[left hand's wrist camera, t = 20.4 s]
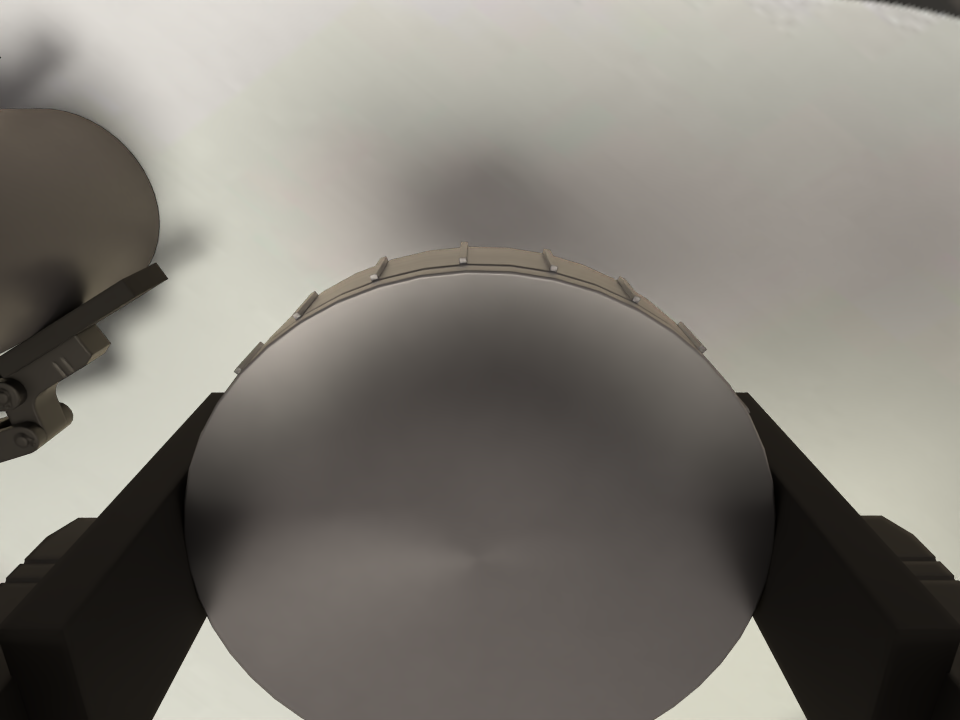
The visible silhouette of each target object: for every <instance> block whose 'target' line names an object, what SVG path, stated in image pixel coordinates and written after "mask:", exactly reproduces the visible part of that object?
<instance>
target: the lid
mask: <svg viewBox="0 0 960 720" xmlns="http://www.w3.org/2000/svg"><path fill="white" fill-rule="evenodd" d="M706 350H707V349H706V348H705V347H704V346H703V345H702V344H701V343H700V341H699V340H698V339H697V338H696V337H695V336H694V335H693V334H692V333H691V332H690V330H689V329H688V328H687V327H686V326H685V325H684V324H683V323H682V322H680V323H679V324H678V325H677V324H676V323H675V322H674V321H673V320H671V319H670V318H669V317H668V316H667V315H666V314H664V313H663V312H662V311H661V310H660V309H658V308H657V307H656V306H655V305H654V304H652V303H651V302H650V301H649V300H648V299H646V298H645V297H643V296H641V295H640V294H638V293H637V292H635V291H634V290H633V288H632V287H631V286H630V285H629V283H628V282H627V281H626V280H625V279H624V278H622V277H619V278H618V280H615V279H613V278H611V277H609V276H607V275H604V274H602V273H600V272H598V271H595V270H593V269H591V268H589V267H587V266H584V265H582V264H579V263H575V262H572V261H568V260H565V259H562V258H558V257H555V256H553V255H552V253H551V251H550V250H549V249H544V250H543V253H538V252H531V251H525V250H519V249H513V248H501V247H468V242H461V247H460V248H450V249H441V250H431V251H426V252H422V253H417V254H413V255H409V256H405V257H401V258H396V259H392V260H389V261H388V259H387V257H383V258H380V260H379V261H378V263H377V265H376V266H374V267H371V268H369V269H366V270H364V271H361V272H358V273H356V274H354V275H352V276H350V277H349V278H347V279H345V280H343V281H341V282H340V283H338V284H336V285H334V286H332V287H330V288H329V289H327V290H325V291H323V292H322V293H321V294H319V295H318V294H317V293H316V292H315V291H314V292H313V293H312V294H310V295H309V296H308V298H307V299H306V300H305V301H304V302H303V303H302V304H301V306H300V307H299V308H298V309H297V310H296V311H295V313H294V314H293V315H292V316H291V317H290V318H289V319H288V320H287V321H286V322H285V323H284V324H283V325H282V326H281V327H280V328H279V329H278V330H277V331H276V332H275V333H274V334H273V335H272V336H271V337H270V338H269V340H268V341H267V342H266V343H265V344H263V343H262V342H260V343H259V344H258V345H257V346H256V347H255V348H254V349H253V350H252V351H251V353H250V354H249V355H248V356H247V357H246V358H245V359H244V360H243V361H242V362H241V364H240V365H239V366H238V367H237V368H236V369H235V371H234V372H235V373H236V374H238V375H237V377H236V378H235V379H234V381H233V382H232V383H231V385H230V386H229V387H228V389H227V390H226V391H225V393H224V394H223V396H222V397H221V398H220V400H219V401H218V402H217V404H216V406H215V408H214V410H213V412H212V413H211V415H210V417H209V419H208V421H207V423H206V425H205V427H204V429H203V431H202V432H201V434H200V437H199V440H198V443H197V446H196V449H195V452H194V455H193V458H192V461H191V464H190V467H189V472H188V478H187V485H186V491H185V497H184V540H185V545H186V551H187V556H188V562H189V567H190V572H191V577H192V580H193V583H194V586H195V589H196V592H197V595H198V599H199V601H200V603H201V605H202V607H203V609H204V611H205V613H206V615H207V617H208V619H209V621H210V623H211V625H212V627H213V629H214V630H215V632H216V633H217V635H218V636H219V638H220V639H221V641H222V642H223V644H224V645H225V647H226V648H227V650H228V651H229V653H230V654H231V655H232V656H233V658H234V659H235V660H236V661H237V662H238V663H239V664H240V666H241V667H242V668H243V669H244V670H245V671H246V672H247V674H248V675H249V676H250V677H251V678H252V679H253V680H254V681H255V682H256V683H258V684H259V685H260V686H261V687H262V688H263V689H264V690H265V691H266V692H268V693H269V694H270V695H271V696H272V697H273V698H274V699H275V700H277V701H278V702H280V703H281V704H282V705H284V706H285V707H287V708H288V709H290V710H291V711H292V712H294V713H295V714H297V715H298V716H299V717H301V718H302V719H304V720H654V719H656V718H657V717H659V716H661V715H662V714H664V713H665V712H667V711H668V710H670V709H671V708H673V707H674V706H676V705H677V704H678V703H679V702H681V701H682V700H683V699H684V698H685V697H687V696H688V695H689V694H690V693H692V692H693V691H694V690H695V689H696V688H698V687H699V686H700V685H701V684H702V683H703V682H704V681H705V680H706V679H707V678H708V677H709V675H710V674H711V673H712V672H713V671H714V670H715V669H716V668H717V667H718V666H719V665H720V664H721V663H722V662H723V660H724V659H725V658H726V656H727V655H728V654H729V652H730V651H731V650H732V648H733V647H734V645H735V644H736V643H737V641H738V640H739V639H740V637H741V636H742V634H743V632H744V630H745V628H746V627H747V625H748V623H749V621H750V619H751V618H752V616H753V614H754V612H755V610H756V608H757V605H758V603H759V600H760V597H761V595H762V592H763V590H764V587H765V584H766V582H767V578H768V573H769V568H770V563H771V558H772V553H773V547H774V541H775V526H776V508H775V497H774V487H773V480H772V476H771V472H770V468H769V464H768V461H767V457H766V453H765V449H764V447H763V444H762V442H761V440H760V438H759V435H758V433H757V431H756V428H755V426H754V424H753V422H752V419H751V417H750V415H749V413H750V411H749V409H748V407H747V406H746V405H745V404H744V403H743V402H742V400H741V399H740V398H739V397H738V396H737V395H736V393H735V392H734V390H733V389H732V387H731V386H730V384H729V383H728V382H727V381H726V380H725V379H724V378H723V376H722V375H721V374H720V373H719V372H718V371H717V370H716V368H715V367H714V366H713V365H712V364H711V363H710V362H709V361H708V359H707V358H706V357H705V356H704V355H703V354H702V353H703V352H705V351H706Z"/></svg>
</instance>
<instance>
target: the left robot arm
mask: <svg viewBox="0 0 960 720" xmlns="http://www.w3.org/2000/svg"><path fill="white" fill-rule="evenodd" d="M223 394H224V393H211V394H210V395H209V396H208V397H207V398H206V399H205V401H204V402H203V403H202V404H201V405H200V406H199V407H198V408H197V409H196V410H195V411H194V413H193V414H192V415H191V416H190V417H189V418H188V419H187V420H186V421H185V422H184V424H183V425H182V426H181V427H180V428H179V429H178V430H177V431H176V432H175V433H174V434H173V436H172V437H171V438H170V439H169V440H168V441H167V442H166V443H165V444H164V445H163V446H162V448H161V449H160V450H159V451H158V452H157V453H156V454H155V455H154V456H153V457H152V459H151V460H150V461H149V462H148V463H147V464H146V465H145V466H144V467H143V468H142V469H141V471H140V472H139V473H138V474H137V475H136V476H135V477H134V478H133V479H132V480H131V481H130V483H129V484H128V485H127V486H126V487H125V488H124V489H123V490H122V491H121V492H120V494H119V495H118V496H117V497H116V498H115V499H114V500H113V501H112V502H111V503H110V504H109V506H108V507H107V508H106V509H105V510H104V511H103V512H102V513H101V514H100V515H99V516H98V518H77V519H76V520H74V521H72V522H71V523H69V524H67V525H66V526H64V527H62V528H61V529H59V530H57V531H56V532H54V533H52V534H51V535H49V536H48V537H46V538H45V539H44V540H43V541H42V542H41V543H40V544H39V545H38V546H37V547H36V548H35V549H34V550H33V551H32V552H31V553H30V554H29V555H28V556H27V557H26V558H25V562H24V564H19V565H18V567H17V568H16V569H15V570H14V571H13V572H12V573H11V574H10V575H9V576H8V577H7V578H6V582H5V583H1V584H0V720H152V719H153V717H154V715H155V714H156V712H157V710H158V708H159V706H160V704H161V702H162V700H163V698H164V697H165V695H166V693H167V691H168V689H169V687H170V685H171V683H172V681H173V679H174V678H175V676H176V674H177V672H178V670H179V668H180V666H181V664H182V662H183V661H184V659H185V657H186V655H187V653H188V651H189V649H190V647H191V645H192V643H193V642H194V640H195V638H196V636H197V634H198V632H199V630H200V628H201V626H202V625H203V623H204V621H205V619H206V617H207V615H206V613H205V611H204V609H203V607H202V605H201V603H200V601H199V599H198V595H197V592H196V589H195V586H194V583H193V580H192V577H191V572H190V567H189V562H188V556H187V551H186V545H185V540H184V497H185V491H186V485H187V478H188V472H189V467H190V464H191V461H192V458H193V455H194V452H195V449H196V446H197V443H198V440H199V437H200V434H201V432H202V431H203V429H204V427H205V425H206V423H207V421H208V419H209V417H210V415H211V413H212V412H213V410H214V408H215V406H216V404H217V402H218V401H219V400H220V398H221V397H222V396H223ZM736 395H737V396H738V397H739V398H740V399H741V400H742V402H743V403H744V404H745V405H746V406H747V407H748V409H749V411H750V413H749V415H750V417H751V419H752V422H753V424H754V426H755V428H756V431H757V433H758V435H759V438H760V440H761V442H762V444H763V447H764V449H765V453H766V457H767V461H768V464H769V468H770V472H771V476H772V480H773V487H774V497H775V508H776V526H775V541H774V547H773V553H772V558H771V563H770V568H769V573H768V578H767V582H766V584H765V587H764V590H763V592H762V595H761V597H760V600H759V603H758V605H757V608H756V610H755V612H754V614H753V618H754V620H755V622H756V623H757V625H758V627H759V629H760V631H761V633H762V635H763V637H764V639H765V640H766V642H767V644H768V646H769V648H770V650H771V652H772V654H773V656H774V658H775V659H776V661H777V663H778V665H779V667H780V669H781V671H782V673H783V675H784V676H785V678H786V680H787V682H788V684H789V686H790V688H791V690H792V692H793V694H794V695H795V697H796V699H797V701H798V703H799V705H800V707H801V709H802V711H803V712H804V714H805V716H806V718H807V720H960V581H959V580H955V579H954V575H953V574H952V573H951V572H950V571H949V570H948V569H947V568H946V567H945V566H944V565H943V564H942V563H941V562H940V561H936V559H935V558H936V557H935V556H934V555H933V554H932V553H931V552H930V551H929V550H928V549H927V548H926V547H925V546H924V545H923V544H922V543H921V542H920V541H919V540H918V539H917V538H916V537H915V536H914V535H913V534H911V533H910V532H908V531H906V530H905V529H903V528H901V527H900V526H898V525H896V524H895V523H893V522H891V521H890V520H888V519H886V518H885V517H883V516H860V515H859V514H858V513H857V512H856V510H855V509H854V508H853V507H852V506H851V505H850V504H849V503H848V502H847V501H846V500H845V498H844V497H843V496H842V495H841V494H840V493H839V492H838V491H837V490H836V489H835V487H834V486H833V485H832V484H831V483H830V482H829V481H828V480H827V479H826V478H825V477H824V475H823V474H822V473H821V472H820V471H819V470H818V469H817V468H816V467H815V466H814V465H813V463H812V462H811V461H810V460H809V459H808V458H807V457H806V456H805V455H804V454H803V452H802V451H801V450H800V449H799V448H798V447H797V446H796V445H795V444H794V443H793V442H792V440H791V439H790V438H789V437H788V436H787V435H786V434H785V433H784V432H783V431H782V430H781V428H780V427H779V426H778V425H777V424H776V423H775V422H774V421H773V420H772V419H771V417H770V416H769V415H768V414H767V413H766V412H765V411H764V410H763V409H762V408H761V407H760V405H759V404H758V403H757V402H756V401H755V400H754V399H753V398H752V397H751V396H750V394H749V393H736Z"/></svg>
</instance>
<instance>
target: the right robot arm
mask: <svg viewBox="0 0 960 720" xmlns="http://www.w3.org/2000/svg"><path fill="white" fill-rule="evenodd" d="M0 58H1V57H0ZM167 279H168V278H167V277H166V275H165V274H164V273H163V271H162V270H161V269H160V267H159V266H158V265H157V263H154V264H152V265H150V266H148V267H146V268H144V269H142V270H140V271H138V272H136V273H134V274H132V275H130V276H128V277H126V278H123V279H122V280H120V281H118V282H117V283H115V284H114V285H112V286H110V287H109V288H107V289H106V290H104V291H103V292H101V293H99V294H98V295H96V296H95V297H93V298H91V299H90V300H88V301H87V302H85V303H84V304H82V305H80V306H79V307H77V308H76V309H74V310H73V311H71V312H69V313H68V314H66V315H65V316H63V317H61V318H60V319H58V320H57V321H55V322H54V323H52V324H50V325H49V326H47V327H46V328H44V329H42V330H41V331H39V332H38V333H36V334H35V335H33V336H31V337H30V338H28V339H27V340H25V341H23V342H22V343H20V344H19V345H17V346H16V347H14V348H12V349H11V350H9V351H8V352H6V353H4V354H3V355H1V356H0V411H6V413H7V415H8V416H7V417H4V418H1V419H0V463H1V462H4V461H7V460H11V459H14V458H17V457H20V456H24V455H27V454H30V453H32V452H34V451H36V450H37V449H39V448H40V447H41V446H42V445H44V444H45V443H46V442H48V441H49V440H50V439H52V438H53V437H54V436H55V435H57V434H58V433H59V432H61V431H62V430H63V429H64V428H66V427H67V426H68V425H70V424H71V422H72V421H73V413H72V411H71V409H70V408H69V407H68V406H67V405H65V404H64V403H61V402H59V401H58V399H57V396H56V385H57V384H58V382H59V381H61V380H63V379H64V378H66V377H68V376H69V375H71V374H73V373H74V372H76V371H77V370H79V369H81V368H82V367H84V366H86V365H87V364H89V363H90V362H92V361H93V360H95V359H96V358H98V357H99V356H101V355H102V354H104V353H105V352H106V350H107V349H108V347H109V345H110V344H111V343H110V341H109V340H108V339H107V338H106V337H105V335H104V334H103V333H102V332H101V330H100V329H99V328H98V327H97V326H96V323H98V322H99V321H101V320H103V319H104V318H106V317H107V316H109V315H111V314H112V313H114V312H115V311H117V310H119V309H120V308H122V307H123V306H125V305H127V304H128V303H130V302H131V301H133V300H135V299H136V298H138V297H140V296H141V295H143V294H144V293H146V292H148V291H149V290H151V289H152V288H154V287H156V286H157V285H159V284H160V283H162V282H164V281H165V280H167Z"/></svg>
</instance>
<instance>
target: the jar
mask: <svg viewBox="0 0 960 720" xmlns="http://www.w3.org/2000/svg"><path fill="white" fill-rule="evenodd" d="M158 234H159V216H158V208H157V203H156V200H155V196H154V193H153V190H152V187H151V185H150V182H149V180H148V178H147V176H146V175H145V173H144V171H143V169H142V168H141V166H140V165H139V163H138V162H137V160H136V159H135V157H134V156H133V155H132V154H131V153H130V152H129V150H128V149H127V148H126V147H125V146H124V145H123V144H122V143H121V142H120V141H119V140H118V139H117V138H115V137H114V136H113V135H112V134H110V133H109V132H108V131H106V130H105V129H104V128H102V127H100V126H99V125H97V124H95V123H93V122H92V121H90V120H87V119H85V118H83V117H81V116H78V115H75V114H72V113H69V112H65V111H60V110H54V109H0V354H1V353H3V352H5V351H6V350H8V349H10V348H12V347H14V346H16V345H18V344H20V343H22V342H23V341H25V340H27V339H28V338H30V337H31V336H33V335H35V334H36V333H38V332H39V331H41V330H42V329H44V328H46V327H47V326H49V325H50V324H52V323H54V322H55V321H57V320H58V319H60V318H61V317H63V316H65V315H66V314H68V313H69V312H71V311H73V310H74V309H76V308H77V307H79V306H80V305H82V304H84V303H85V302H87V301H88V300H90V299H91V298H93V297H95V296H96V295H98V294H99V293H101V292H103V291H104V290H106V289H107V288H109V287H110V286H112V285H114V284H115V283H117V282H118V281H120V280H122V279H123V278H126V277H128V276H130V275H132V274H134V273H136V272H138V271H140V270H142V269H144V268H146V267H148V265H149V264H150V261H151V259H152V257H153V255H154V252H155V249H156V245H157V241H158Z"/></svg>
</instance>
